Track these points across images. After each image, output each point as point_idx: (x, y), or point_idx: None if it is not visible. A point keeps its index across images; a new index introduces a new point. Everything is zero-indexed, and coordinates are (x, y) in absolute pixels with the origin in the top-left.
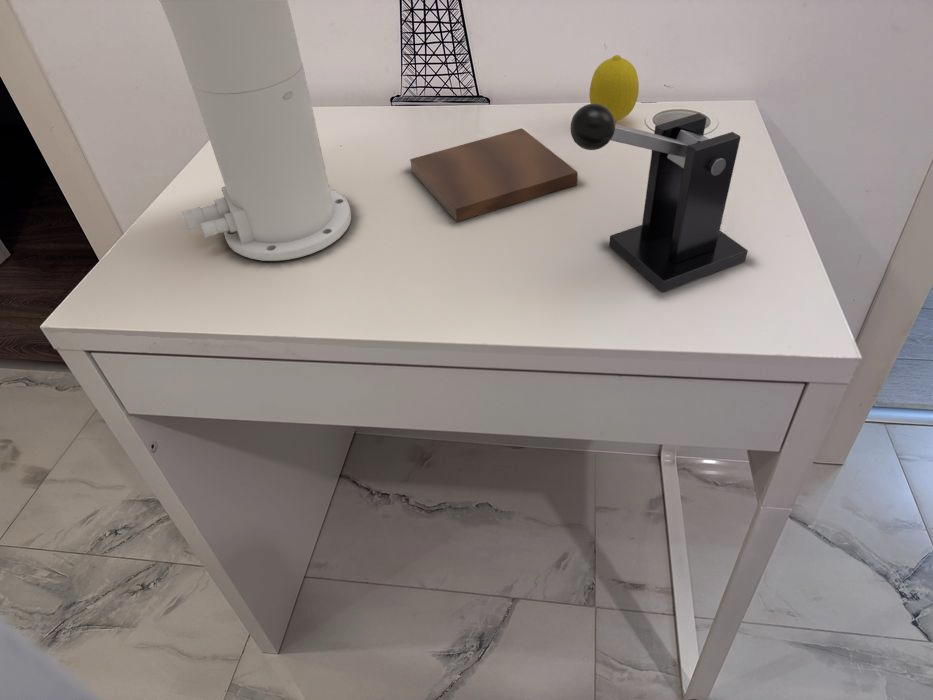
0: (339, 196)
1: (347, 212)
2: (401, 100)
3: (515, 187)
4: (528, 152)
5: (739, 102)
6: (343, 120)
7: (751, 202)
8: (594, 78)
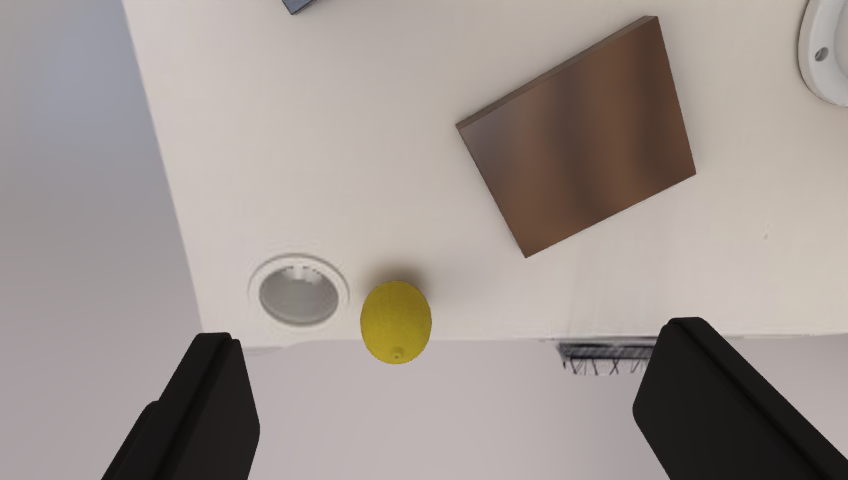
0: (817, 69)
1: (818, 18)
2: None
3: (557, 83)
4: (524, 189)
5: None
6: (748, 302)
7: (196, 67)
8: (428, 327)
